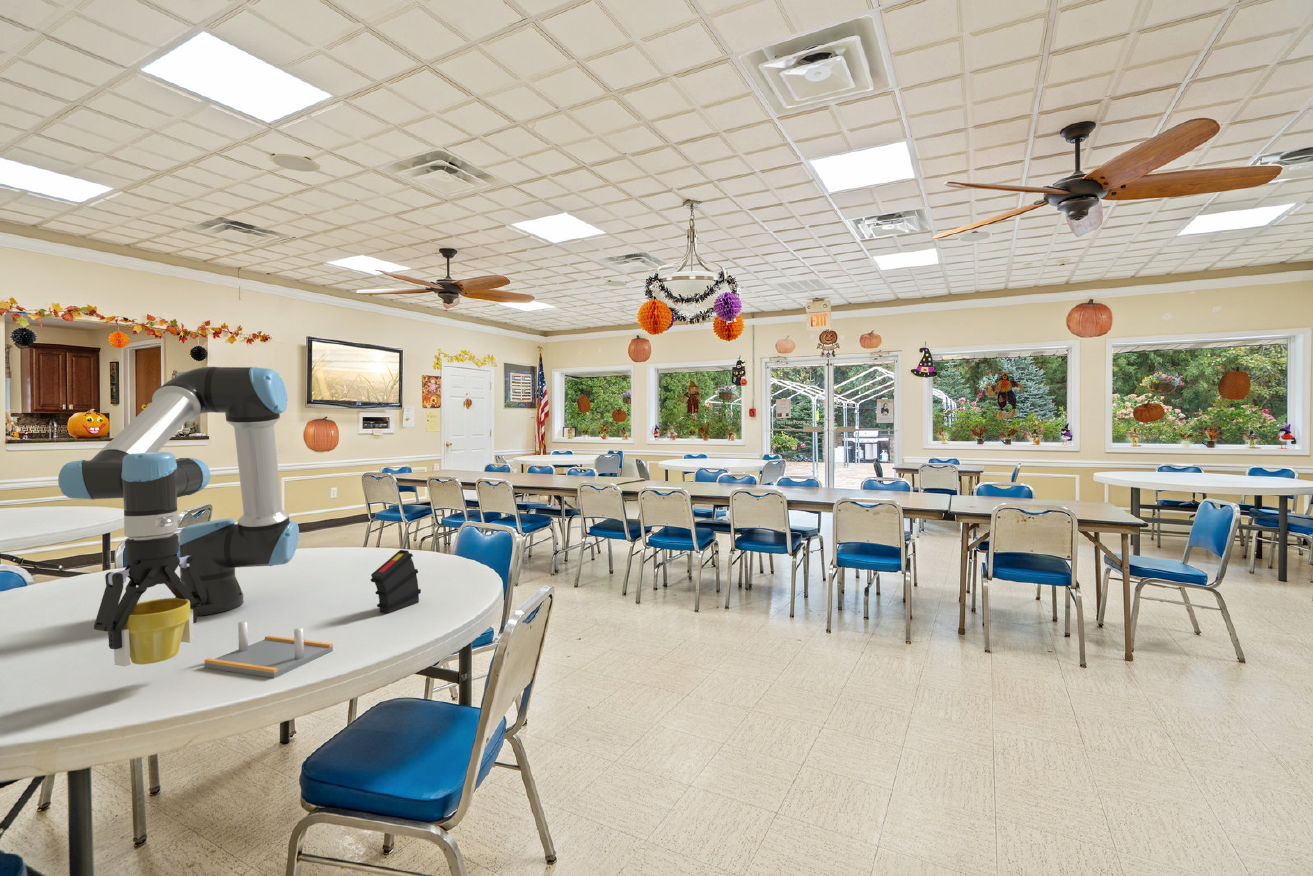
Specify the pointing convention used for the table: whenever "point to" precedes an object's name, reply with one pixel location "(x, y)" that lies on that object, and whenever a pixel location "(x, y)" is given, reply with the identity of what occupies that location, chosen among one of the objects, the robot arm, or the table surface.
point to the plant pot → (157, 629)
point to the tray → (269, 654)
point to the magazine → (396, 583)
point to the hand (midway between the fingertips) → (156, 652)
